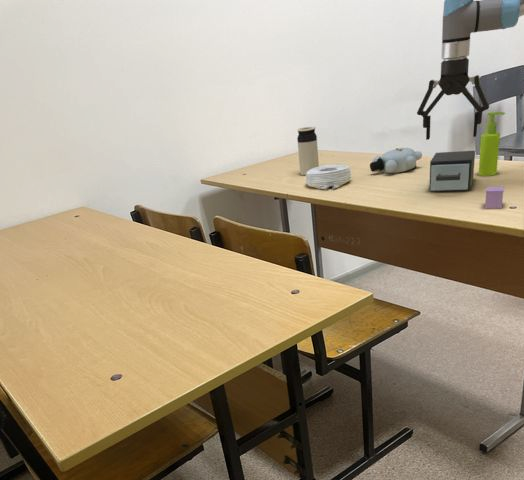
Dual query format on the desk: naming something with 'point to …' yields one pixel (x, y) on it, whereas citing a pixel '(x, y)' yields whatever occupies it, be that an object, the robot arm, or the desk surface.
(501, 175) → the desk surface
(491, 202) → the purple block
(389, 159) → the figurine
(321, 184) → the cable
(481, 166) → the soap dispenser
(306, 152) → the travel mug
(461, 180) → the drawer
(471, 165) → the small drawer cabinet
